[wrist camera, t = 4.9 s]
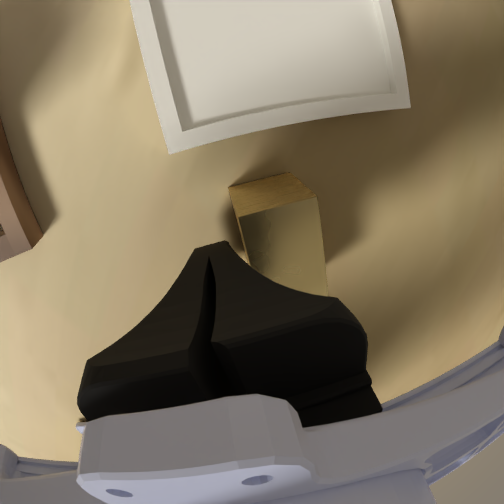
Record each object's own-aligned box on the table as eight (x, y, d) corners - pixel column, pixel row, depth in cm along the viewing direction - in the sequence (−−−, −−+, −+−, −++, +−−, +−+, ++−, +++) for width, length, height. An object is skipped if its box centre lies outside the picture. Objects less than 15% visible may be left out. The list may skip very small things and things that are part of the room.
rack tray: (393, 105, 11) (410, 107, 10) (172, 148, 10) (169, 154, 9) (347, -77, 6) (359, -87, 5) (123, -55, 6) (116, -68, 5)
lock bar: (306, 277, 14) (330, 320, 11) (255, 292, 14) (269, 338, 11) (289, 172, 12) (317, 196, 9) (228, 187, 11) (237, 217, 9)
